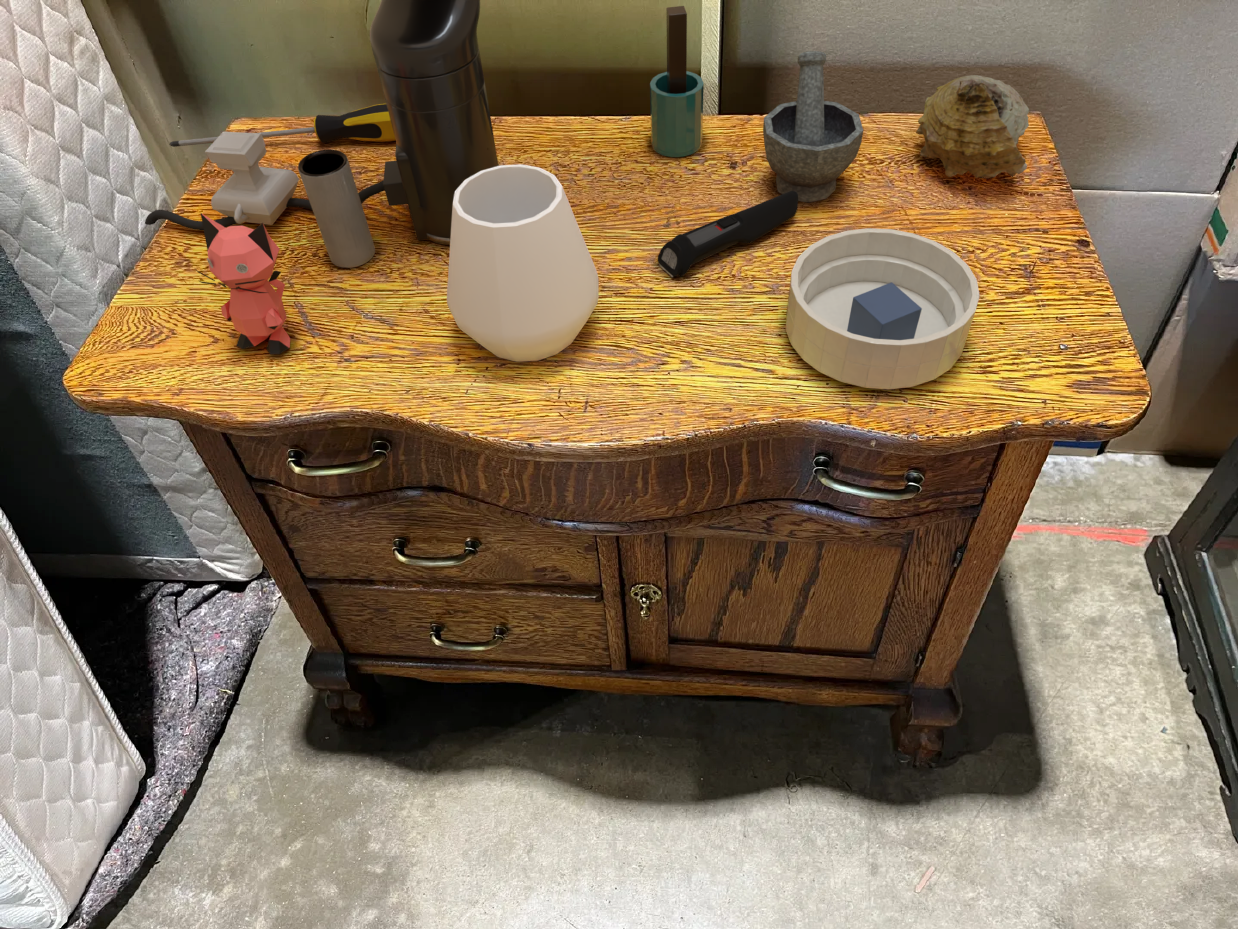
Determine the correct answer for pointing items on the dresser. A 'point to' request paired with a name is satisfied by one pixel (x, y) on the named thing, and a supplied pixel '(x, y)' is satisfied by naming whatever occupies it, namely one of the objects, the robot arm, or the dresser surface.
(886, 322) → the block
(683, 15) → the stick
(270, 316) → the cat figurine
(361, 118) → the screwdriver
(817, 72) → the mortar and pestle
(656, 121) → the cup
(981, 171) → the seashell
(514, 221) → the cup
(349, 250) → the grey hollow cylinder
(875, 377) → the bowl
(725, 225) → the electric trimmer
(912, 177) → the dresser surface
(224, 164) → the stamp
